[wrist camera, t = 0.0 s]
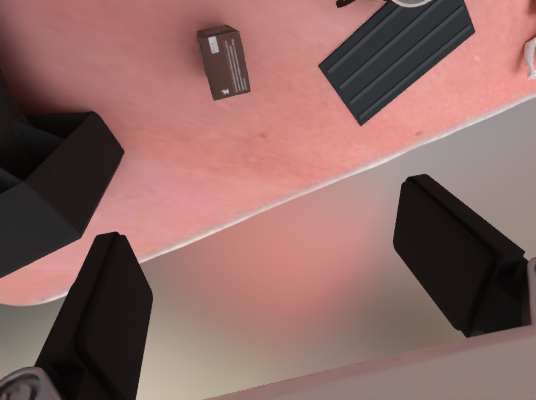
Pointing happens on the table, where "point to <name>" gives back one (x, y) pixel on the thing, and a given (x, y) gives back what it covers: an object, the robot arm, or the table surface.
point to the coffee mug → (400, 0)
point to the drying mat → (394, 52)
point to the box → (223, 61)
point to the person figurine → (530, 58)
